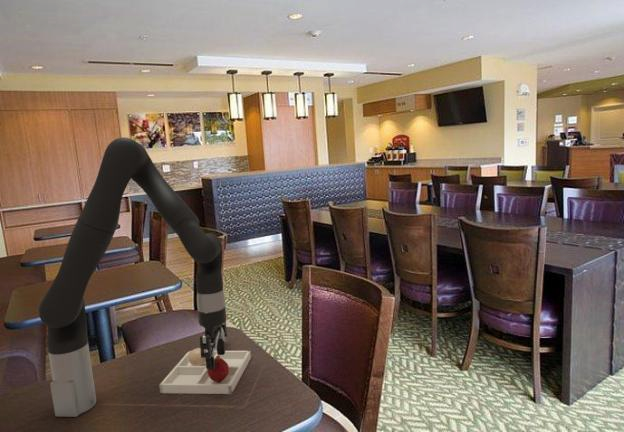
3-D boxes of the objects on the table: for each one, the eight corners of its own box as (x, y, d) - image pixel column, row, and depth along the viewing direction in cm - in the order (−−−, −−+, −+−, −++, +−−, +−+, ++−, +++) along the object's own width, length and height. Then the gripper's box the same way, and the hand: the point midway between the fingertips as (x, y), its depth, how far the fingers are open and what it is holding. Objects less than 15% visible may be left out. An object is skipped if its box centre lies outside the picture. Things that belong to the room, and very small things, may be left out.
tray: (231, 396, 116) (230, 385, 115) (160, 395, 118) (159, 384, 118) (251, 360, 136) (250, 350, 135) (189, 360, 138) (188, 350, 138)
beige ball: (204, 370, 129) (202, 353, 128) (186, 370, 130) (185, 353, 129) (211, 361, 135) (209, 344, 134) (194, 361, 135) (192, 344, 135)
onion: (224, 388, 118) (222, 361, 117) (205, 387, 119) (203, 360, 118) (232, 378, 124) (230, 351, 123) (214, 376, 125) (212, 350, 124)
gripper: (207, 297, 125) (212, 349, 128) (187, 316, 111) (193, 374, 114) (232, 297, 124) (236, 350, 127) (215, 316, 110) (220, 374, 113)
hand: (216, 361), depth 120 cm, fingers open, 8 cm apart
